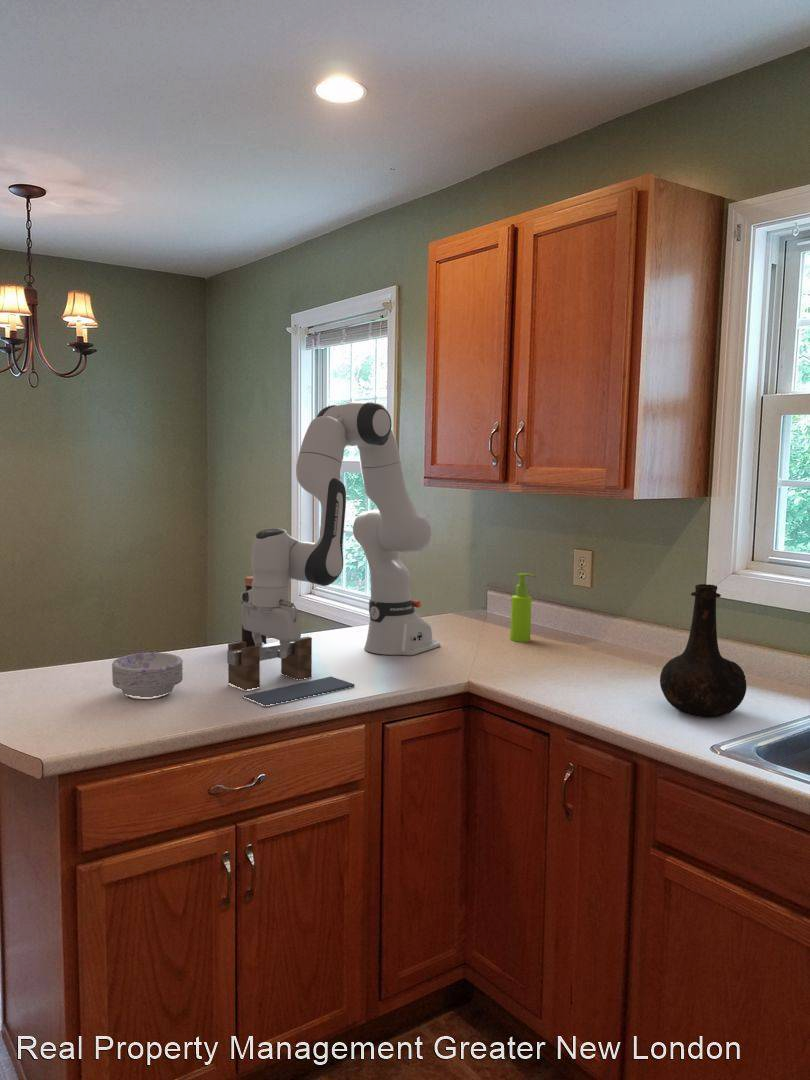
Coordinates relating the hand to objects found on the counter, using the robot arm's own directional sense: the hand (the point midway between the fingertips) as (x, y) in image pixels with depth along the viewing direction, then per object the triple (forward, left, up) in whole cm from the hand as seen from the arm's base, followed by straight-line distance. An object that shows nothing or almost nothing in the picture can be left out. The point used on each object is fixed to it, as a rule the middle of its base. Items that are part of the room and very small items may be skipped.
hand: (270, 654), depth 200 cm
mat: (0, +12, -7) cm, 14 cm away
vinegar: (-16, -32, -7) cm, 36 cm away
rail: (0, 0, -1) cm, 1 cm away
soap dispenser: (-83, +10, -7) cm, 84 cm away
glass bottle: (-58, +80, -7) cm, 99 cm away
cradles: (0, 0, -7) cm, 7 cm away
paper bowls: (+27, -9, -7) cm, 29 cm away
